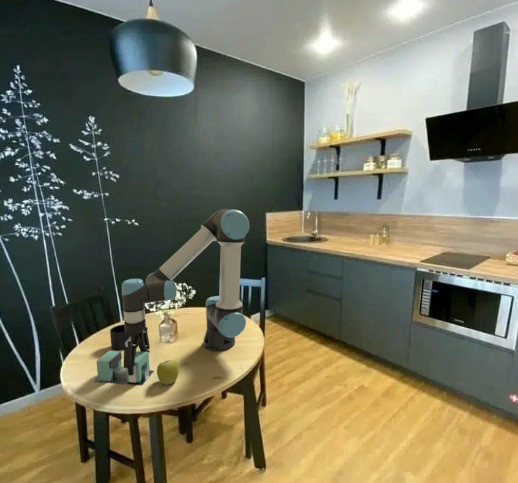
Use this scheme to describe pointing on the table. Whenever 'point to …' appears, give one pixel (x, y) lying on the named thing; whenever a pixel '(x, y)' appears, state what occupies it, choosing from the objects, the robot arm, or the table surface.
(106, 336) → the table surface
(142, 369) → the rail base
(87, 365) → the table surface
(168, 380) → the apple
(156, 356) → the table surface
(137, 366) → the teal arch
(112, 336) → the mug
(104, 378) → the teal notched block
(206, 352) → the table surface
